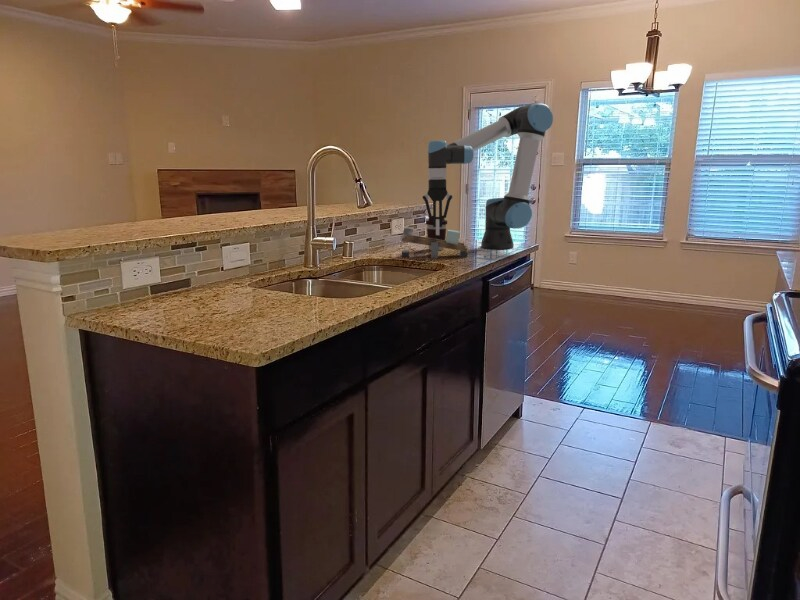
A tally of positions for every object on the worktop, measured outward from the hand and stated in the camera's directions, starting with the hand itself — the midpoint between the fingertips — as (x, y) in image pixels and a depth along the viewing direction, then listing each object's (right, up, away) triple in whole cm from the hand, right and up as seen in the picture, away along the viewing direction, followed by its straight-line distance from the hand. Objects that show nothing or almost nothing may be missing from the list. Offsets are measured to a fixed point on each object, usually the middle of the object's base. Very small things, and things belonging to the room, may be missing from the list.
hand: (437, 234), depth 241 cm
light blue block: (+6, -4, 0) cm, 7 cm away
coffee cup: (+1, -5, +22) cm, 22 cm away
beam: (-1, -4, +1) cm, 4 cm away
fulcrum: (-1, -9, +2) cm, 9 cm away
